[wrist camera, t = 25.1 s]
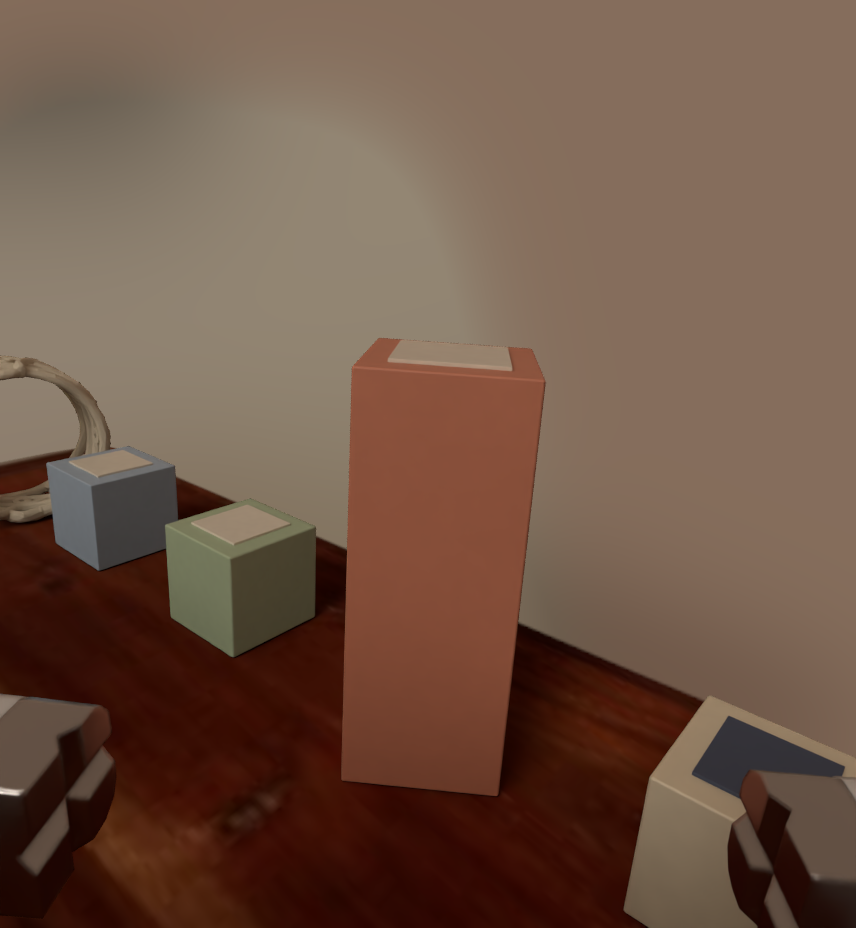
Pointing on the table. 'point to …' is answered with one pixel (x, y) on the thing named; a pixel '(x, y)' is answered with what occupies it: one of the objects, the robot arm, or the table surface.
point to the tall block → (436, 559)
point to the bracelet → (91, 439)
